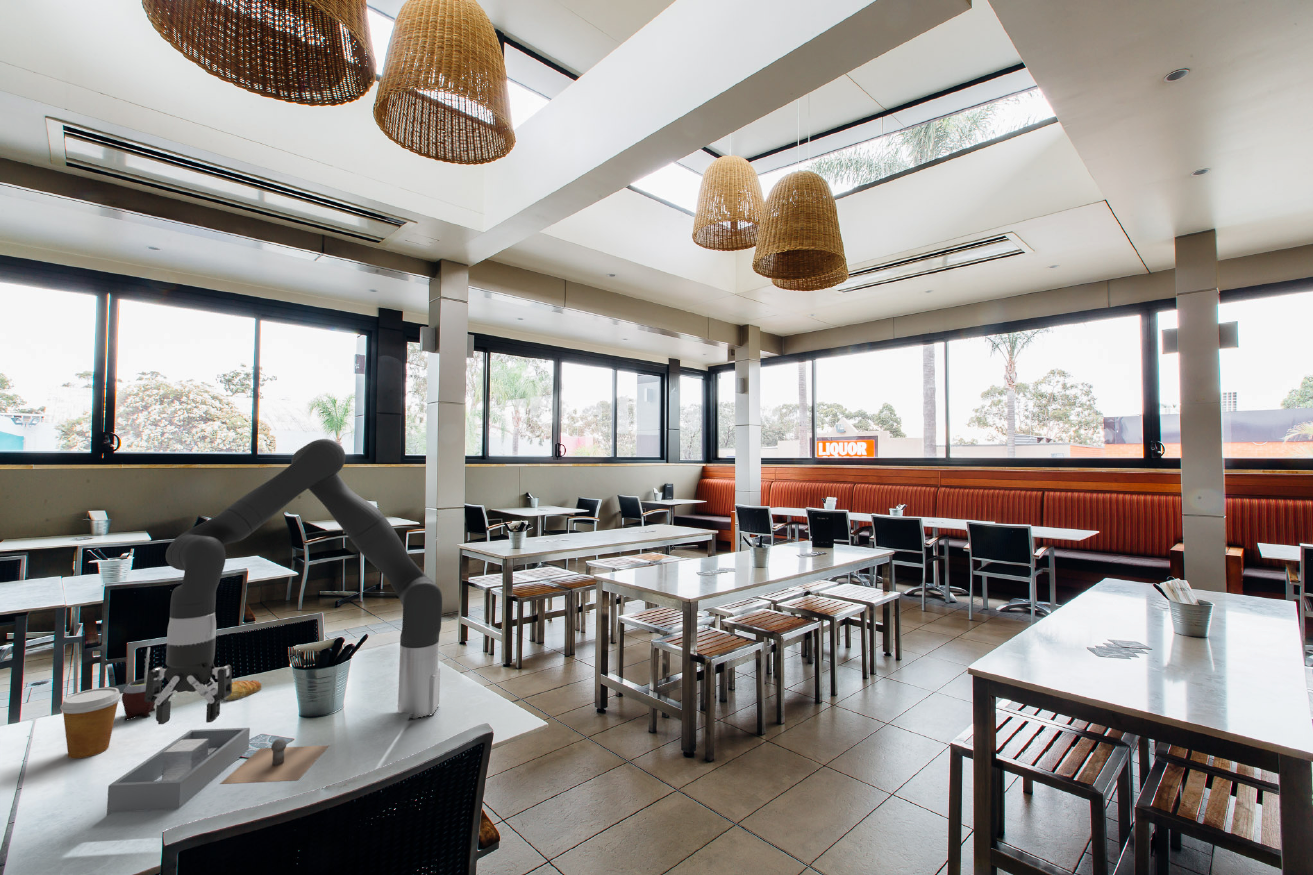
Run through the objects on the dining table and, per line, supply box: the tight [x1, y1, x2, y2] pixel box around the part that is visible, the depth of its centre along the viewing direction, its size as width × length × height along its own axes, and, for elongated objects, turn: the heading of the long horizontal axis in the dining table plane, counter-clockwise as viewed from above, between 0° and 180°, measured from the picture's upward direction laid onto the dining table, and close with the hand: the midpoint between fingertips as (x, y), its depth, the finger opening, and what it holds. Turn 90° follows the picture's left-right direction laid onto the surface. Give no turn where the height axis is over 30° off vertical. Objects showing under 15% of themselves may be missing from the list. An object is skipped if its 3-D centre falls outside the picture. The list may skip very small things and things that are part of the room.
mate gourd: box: [121, 646, 156, 721], centre depth 145 cm, size 8×8×15 cm
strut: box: [161, 739, 218, 781], centre depth 114 cm, size 16×5×7 cm, turn 7°
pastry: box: [223, 680, 262, 701], centre depth 158 cm, size 9×7×4 cm
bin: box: [106, 727, 251, 816], centre depth 114 cm, size 22×12×6 cm, turn 7°
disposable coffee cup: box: [59, 687, 122, 760], centre depth 126 cm, size 10×10×12 cm
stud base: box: [219, 738, 330, 785], centre depth 120 cm, size 14×14×6 cm
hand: (187, 721), depth 114 cm, fingers open, 8 cm apart
